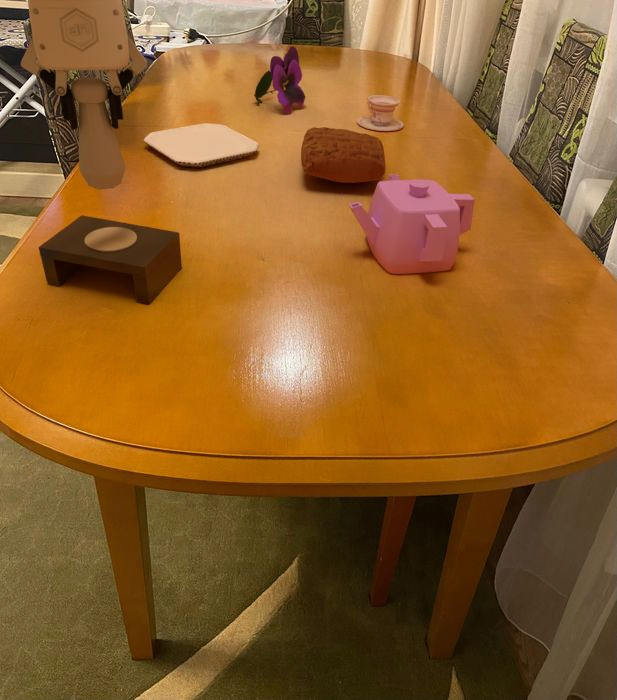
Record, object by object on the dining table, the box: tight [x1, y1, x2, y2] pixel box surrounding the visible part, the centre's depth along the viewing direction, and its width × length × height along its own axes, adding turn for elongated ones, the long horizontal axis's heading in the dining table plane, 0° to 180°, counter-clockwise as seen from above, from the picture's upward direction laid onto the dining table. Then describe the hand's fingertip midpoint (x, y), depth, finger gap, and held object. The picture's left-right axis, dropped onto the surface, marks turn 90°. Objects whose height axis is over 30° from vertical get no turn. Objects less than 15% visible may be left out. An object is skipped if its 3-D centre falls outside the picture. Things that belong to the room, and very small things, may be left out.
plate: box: [143, 122, 260, 168], centre depth 133 cm, size 21×21×2 cm
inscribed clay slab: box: [300, 126, 386, 184], centre depth 124 cm, size 22×17×8 cm
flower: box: [253, 45, 306, 115], centre depth 160 cm, size 15×15×14 cm
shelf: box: [38, 215, 183, 306], centre depth 88 cm, size 16×11×6 cm
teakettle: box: [348, 173, 475, 275], centre depth 97 cm, size 17×17×12 cm
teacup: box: [356, 94, 405, 132], centre depth 154 cm, size 12×12×6 cm
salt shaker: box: [70, 76, 126, 191], centre depth 76 cm, size 6×6×13 cm
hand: (95, 124), depth 76 cm, fingers closed on salt shaker, 4 cm apart
